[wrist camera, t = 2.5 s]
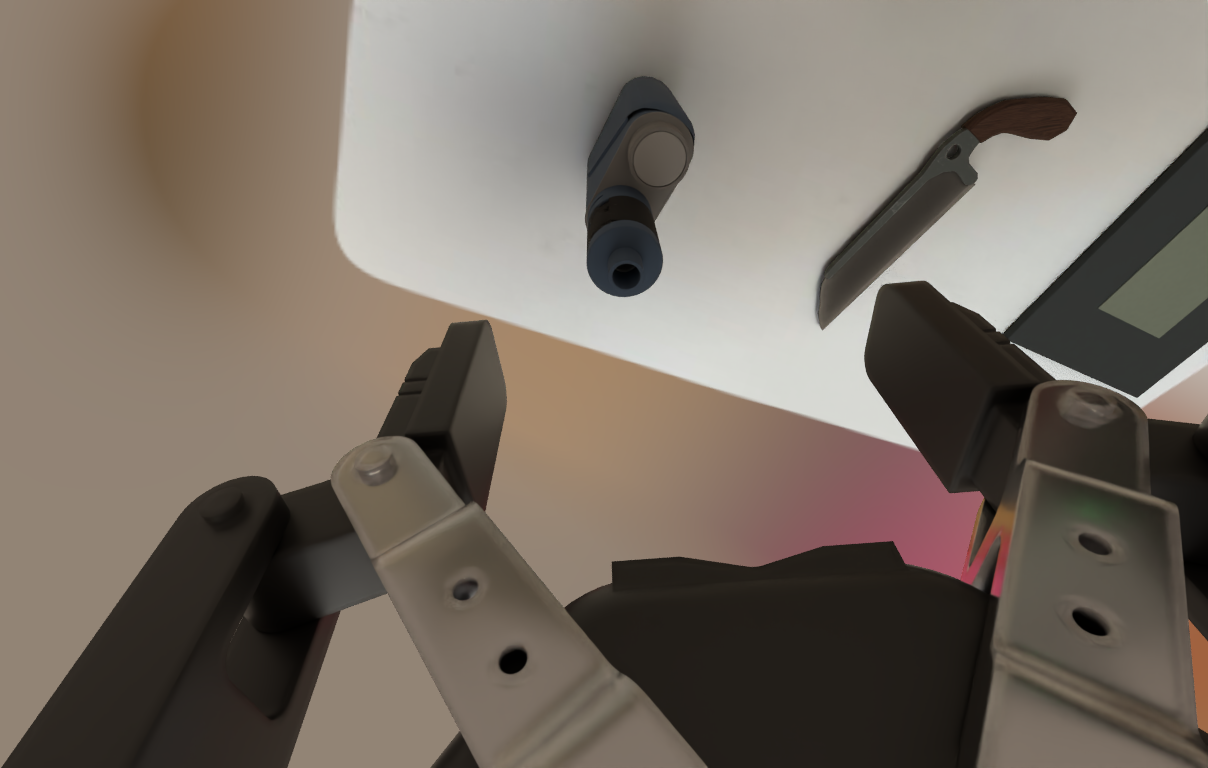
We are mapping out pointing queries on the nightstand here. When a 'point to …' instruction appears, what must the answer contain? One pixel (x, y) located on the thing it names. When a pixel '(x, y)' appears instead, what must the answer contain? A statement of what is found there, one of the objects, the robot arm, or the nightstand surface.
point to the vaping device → (634, 185)
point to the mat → (1133, 288)
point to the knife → (932, 196)
